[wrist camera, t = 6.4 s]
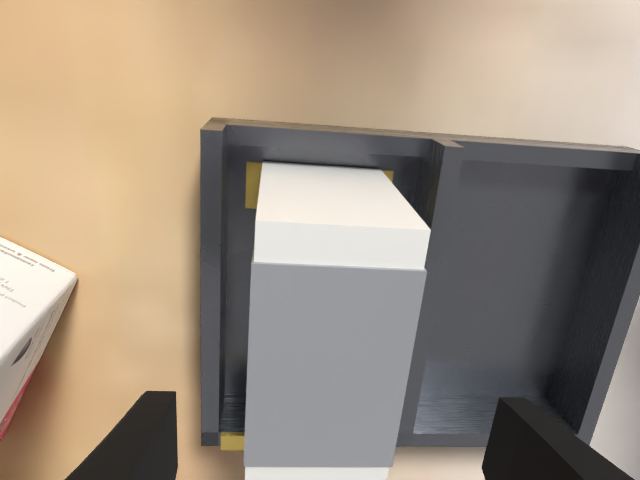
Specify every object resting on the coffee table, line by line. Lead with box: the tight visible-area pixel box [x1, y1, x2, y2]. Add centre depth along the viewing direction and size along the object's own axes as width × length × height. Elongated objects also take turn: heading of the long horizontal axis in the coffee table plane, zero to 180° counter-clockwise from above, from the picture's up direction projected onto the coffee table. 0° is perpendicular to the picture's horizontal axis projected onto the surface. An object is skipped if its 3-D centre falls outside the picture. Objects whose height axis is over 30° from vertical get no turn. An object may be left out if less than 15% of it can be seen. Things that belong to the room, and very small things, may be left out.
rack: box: [200, 117, 640, 450], centre depth 18 cm, size 15×11×3 cm
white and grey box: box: [243, 161, 431, 480], centre depth 15 cm, size 4×8×6 cm, turn 175°
